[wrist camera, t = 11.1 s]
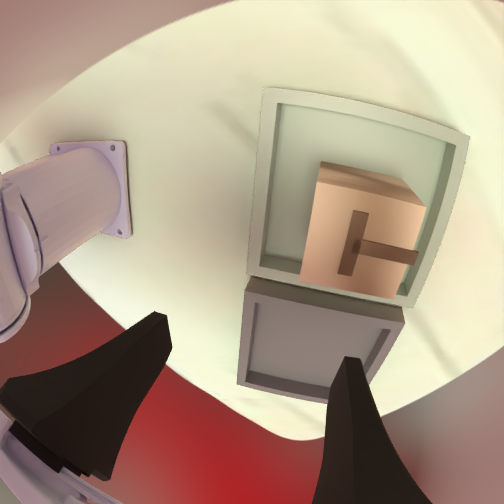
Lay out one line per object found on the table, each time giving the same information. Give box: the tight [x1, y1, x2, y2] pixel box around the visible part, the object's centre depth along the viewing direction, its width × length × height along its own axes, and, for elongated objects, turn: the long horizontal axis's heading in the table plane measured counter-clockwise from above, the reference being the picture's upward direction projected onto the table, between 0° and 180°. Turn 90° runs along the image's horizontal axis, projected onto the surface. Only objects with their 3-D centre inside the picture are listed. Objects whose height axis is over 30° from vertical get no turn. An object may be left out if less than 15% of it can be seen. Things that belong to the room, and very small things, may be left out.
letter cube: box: [299, 161, 427, 300], centre depth 14 cm, size 5×5×5 cm
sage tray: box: [246, 87, 470, 308], centre depth 16 cm, size 12×12×2 cm
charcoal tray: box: [237, 277, 405, 404], centre depth 22 cm, size 12×12×2 cm
